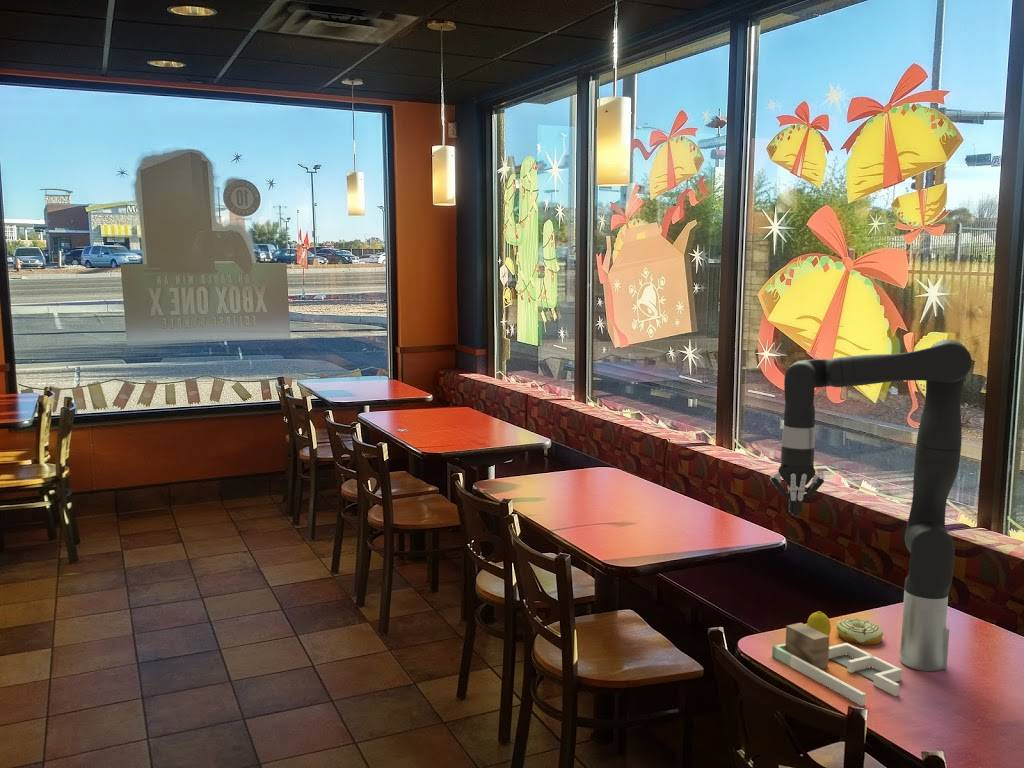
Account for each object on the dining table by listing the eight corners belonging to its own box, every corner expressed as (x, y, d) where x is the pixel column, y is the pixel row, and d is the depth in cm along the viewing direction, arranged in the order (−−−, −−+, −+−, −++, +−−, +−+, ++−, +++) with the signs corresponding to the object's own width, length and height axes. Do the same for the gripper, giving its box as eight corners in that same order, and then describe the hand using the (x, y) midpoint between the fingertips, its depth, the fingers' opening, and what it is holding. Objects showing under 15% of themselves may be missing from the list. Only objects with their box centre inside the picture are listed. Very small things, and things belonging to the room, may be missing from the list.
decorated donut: (864, 650, 217) (865, 635, 216) (827, 635, 226) (827, 621, 225) (891, 641, 222) (891, 626, 222) (853, 626, 231) (854, 612, 231)
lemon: (831, 648, 218) (833, 616, 217) (807, 646, 219) (809, 614, 218) (828, 639, 223) (829, 608, 222) (804, 637, 224) (806, 606, 223)
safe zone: (825, 657, 212) (826, 647, 212) (790, 666, 207) (790, 655, 207) (807, 648, 218) (807, 638, 217) (772, 656, 213) (772, 646, 212)
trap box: (920, 689, 196) (920, 678, 196) (861, 706, 189) (862, 694, 188) (846, 652, 215) (846, 642, 215) (790, 666, 207) (790, 655, 207)
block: (827, 667, 207) (829, 636, 206) (812, 671, 205) (814, 639, 204) (799, 652, 215) (800, 622, 214) (785, 655, 213) (786, 625, 212)
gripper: (822, 442, 218) (818, 511, 220) (766, 441, 219) (763, 510, 221) (830, 448, 211) (827, 520, 213) (773, 447, 212) (770, 518, 214)
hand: (794, 515), depth 217 cm, fingers closed
